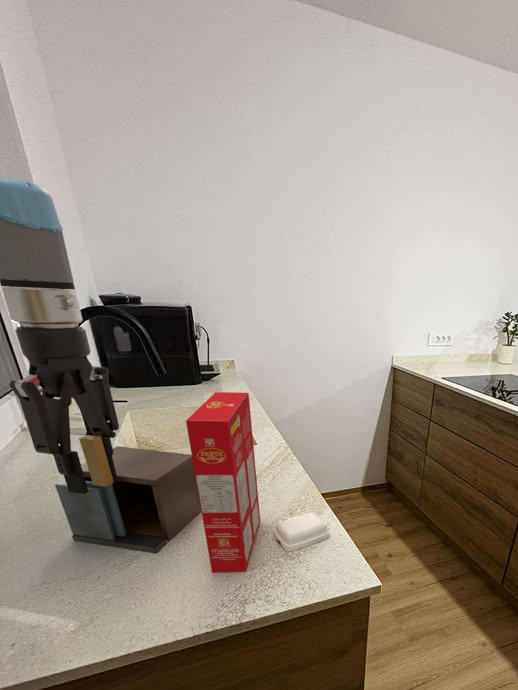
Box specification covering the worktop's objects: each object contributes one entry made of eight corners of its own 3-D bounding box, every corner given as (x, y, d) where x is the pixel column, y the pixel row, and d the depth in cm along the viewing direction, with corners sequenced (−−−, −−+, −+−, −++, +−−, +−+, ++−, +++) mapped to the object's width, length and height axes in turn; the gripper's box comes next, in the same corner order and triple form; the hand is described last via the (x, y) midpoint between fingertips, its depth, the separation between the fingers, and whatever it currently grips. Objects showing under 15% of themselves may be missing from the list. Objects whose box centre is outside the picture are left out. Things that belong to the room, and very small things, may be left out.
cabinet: (73, 540, 67) (50, 478, 61) (131, 500, 80) (117, 446, 74) (156, 553, 65) (140, 490, 59) (203, 509, 77) (193, 454, 72)
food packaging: (232, 521, 74) (215, 392, 63) (260, 521, 75) (248, 392, 63) (211, 572, 61) (185, 420, 50) (245, 571, 61) (227, 421, 50)
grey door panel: (83, 532, 67) (49, 435, 59) (90, 527, 68) (58, 431, 60) (122, 538, 66) (93, 439, 58) (128, 533, 67) (101, 436, 59)
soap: (287, 553, 66) (286, 539, 65) (271, 534, 71) (270, 520, 70) (332, 537, 71) (332, 523, 69) (314, 519, 76) (314, 507, 74)
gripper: (4, 331, 42) (64, 515, 52) (125, 323, 58) (153, 465, 68) (-52, 327, 43) (17, 507, 53) (82, 320, 59) (116, 460, 69)
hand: (94, 483), depth 61 cm, fingers open, 5 cm apart
